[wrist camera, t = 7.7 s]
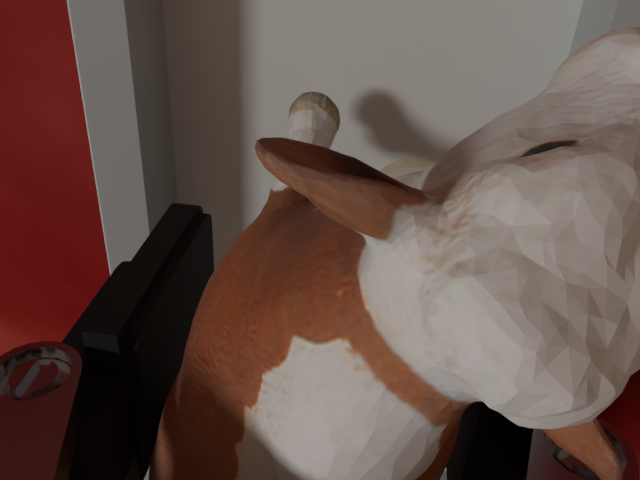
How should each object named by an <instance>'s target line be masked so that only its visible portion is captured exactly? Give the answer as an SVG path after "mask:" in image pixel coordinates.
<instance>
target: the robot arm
mask: <svg viewBox="0 0 640 480" xmlns="http://www.w3.org/2000/svg"><path fill="white" fill-rule="evenodd" d="M213 272H214V253H213V232H212V218H211V215H210V214H206V213H203V209H202V207H201V206H198V205H189V204H180V203H172V204H171V205H170V206H169V208H168V209H167V211H166V212H165V213H164V215H163V216H162V218H161V219H160V220H159V222H158V223H157V225H156V226H155V227H154V229H153V230H152V232H151V233H150V235H149V236H148V237H147V239H146V240H145V242H144V243H143V244H142V246H141V247H140V249H139V250H138V251H137V253H136V254H135V256H134V257H133V259H132V260H131V261H123V262H121V263H120V264H119V265H118V266H117V267H116V269H115V270H114V271H113V273H112V274H111V276H110V277H109V278H108V280H107V281H106V282H105V284H104V285H103V286H102V288H101V289H100V291H99V292H98V293H97V295H96V296H95V297H94V299H93V300H92V301H91V303H90V304H89V306H88V307H87V308H86V310H85V311H84V312H83V314H82V315H81V316H80V318H79V319H78V321H77V322H76V323H75V325H74V326H73V327H72V329H71V330H70V331H69V333H68V334H67V336H66V337H65V338H64V340H63V341H62V342H61V343H60V342H53V341H41V342H35V343H29V344H26V345H23V346H20V347H17V348H14V349H12V350H10V351H9V352H7V353H5V354H3V355H1V356H0V480H144V478H145V476H146V473H147V471H148V469H149V467H150V459H151V454H152V450H153V445H154V441H155V438H156V435H157V432H158V427H159V423H160V419H161V415H162V411H163V408H164V405H165V402H166V400H167V397H168V394H169V391H170V389H171V387H172V385H173V383H174V380H175V378H176V376H177V374H178V372H179V370H180V368H181V365H182V363H183V357H184V352H185V347H186V344H187V340H188V336H189V333H190V329H191V325H192V322H193V318H194V315H195V313H196V310H197V307H198V304H199V302H200V299H201V296H202V294H203V292H204V289H205V287H206V285H207V282H208V280H209V279H210V277H211V275H212V274H213ZM597 419H598V421H599V423H600V425H601V426H602V428H603V430H604V432H605V434H606V435H607V437H608V439H609V441H610V442H611V444H612V445H613V447H614V448H615V450H616V451H617V453H618V455H619V458H620V462H621V468H622V480H639V469H638V462H637V458H636V454H635V451H634V449H633V448H632V446H631V445H630V443H629V441H628V440H627V439H626V438H625V437H624V436H623V435H622V434H621V433H620V432H619V431H618V430H617V429H616V428H615V427H614V426H612V425H611V424H609V423H608V422H606V421H605V420H603V419H602V418H599V417H597ZM446 473H447V480H601V479H600V478H599V477H598V476H597V475H596V474H595V473H594V472H593V471H592V470H591V469H590V468H589V467H588V466H586V465H585V464H584V463H583V462H581V461H580V460H578V459H577V458H576V457H574V456H573V455H571V454H570V453H568V452H567V451H565V450H564V449H562V448H561V447H559V446H558V445H557V444H556V443H555V442H554V441H553V440H552V439H551V438H550V437H549V436H548V435H547V434H546V433H545V432H544V431H543V430H542V429H534V428H527V427H522V426H518V425H516V424H515V423H513V422H511V421H510V420H508V419H507V418H506V417H505V416H503V415H502V414H501V413H499V412H497V411H495V410H493V409H491V408H489V407H488V406H487V405H486V404H485V403H484V402H482V401H476V402H474V403H472V404H471V405H469V406H468V407H467V408H466V410H465V411H464V413H463V414H462V417H461V421H460V425H459V430H458V434H457V438H456V443H455V446H454V448H453V451H452V453H451V456H450V458H449V461H448V463H447V466H446Z"/></svg>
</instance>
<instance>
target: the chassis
mask: <svg viewBox="0 0 640 480" xmlns="http://www.w3.org/2000/svg"><path fill="white" fill-rule="evenodd" d="M67 5H68V11H69V18H70V24H71V30H72V37H73V43H74V49H75V56H76V62H77V68H78V75H79V81H80V87H81V94H82V100H83V106H84V113H85V119H86V125H87V131H88V138H89V144H90V150H91V157H92V163H93V169H94V176H95V182H96V188H97V195H98V201H99V207H100V214H101V220H102V226H103V233H104V239H105V245H106V252H107V258H108V264H109V271H110V276H111V274H112V273H113V271H114V270H115V269H116V267H117V266H118V265H119V264H120V263H121V262H123V261H131V260H132V259H133V257H134V256H135V254H136V253H137V251H138V250H139V249H140V247H141V246H142V244H143V243H144V242H145V240H146V239H147V237H148V236H149V235H150V233H151V232H152V230H153V229H154V227H155V226H156V225H157V223H158V222H159V220H160V219H161V218H162V216H163V215H164V213H165V212H166V211H167V209H168V208H169V206H170V205H171V204H172V203H180V204H189V205H198V206H201V207H202V209H203V213H206V214H210V215H211V218H212V232H213V253H214V270H215V269H216V267H217V265H218V264H219V262H220V261H221V259H222V258H223V256H224V255H225V253H226V252H227V250H228V249H229V247H230V246H231V244H232V243H233V241H234V240H235V239H236V238H237V237H238V236H239V235H240V234H241V233H242V232H243V231H244V230H245V229H246V228H247V227H248V226H249V225H250V224H251V223H253V222H254V220H255V219H256V218H257V217H258V216H259V214H260V213H261V211H262V209H263V207H264V206H265V204H266V202H267V200H268V197H269V192H270V188H271V185H272V182H273V180H274V178H275V176H274V175H273V174H271V173H270V172H269V171H268V170H267V169H265V167H264V166H263V164H262V163H261V161H260V160H259V158H258V156H257V154H256V151H255V147H254V145H255V143H256V141H257V140H259V139H261V138H271V137H283V138H288V139H289V110H290V107H291V105H292V103H293V101H294V100H295V99H296V98H298V97H299V96H300V95H301V94H303V93H306V92H311V91H313V92H319V93H322V94H324V95H327V96H328V97H329V98H330V99H331V100H332V101H333V102H334V103H335V105H336V106H337V108H338V110H339V114H340V125H339V129H338V131H337V133H336V135H335V138H334V140H333V143H332V145H331V147H330V149H331V150H334V151H336V152H339V153H342V154H345V155H348V156H351V157H355V158H356V159H358V160H360V161H362V162H364V163H365V164H367V165H369V166H371V167H373V168H375V169H377V170H378V171H379V170H381V169H382V168H383V167H385V166H387V165H388V164H390V163H392V162H394V161H397V160H400V159H403V158H409V157H421V158H425V159H428V160H430V161H432V162H434V163H436V162H437V161H438V160H439V159H440V158H441V157H442V156H443V155H444V154H445V153H446V152H447V151H449V150H450V149H451V148H453V147H454V146H455V145H457V144H458V143H459V142H461V141H462V140H463V139H465V138H466V137H468V136H469V135H471V134H472V133H474V132H475V131H477V130H478V129H480V128H482V127H483V126H485V125H486V124H488V123H489V122H491V121H492V120H494V119H495V118H497V117H499V116H500V115H502V114H504V113H506V112H508V111H510V110H512V109H515V108H517V107H519V106H521V105H523V104H524V103H526V102H528V101H530V100H531V99H533V98H535V97H537V96H538V95H540V94H541V93H542V92H543V91H544V90H545V89H546V87H547V85H548V83H549V82H550V80H551V78H552V77H553V75H554V73H555V72H556V70H557V68H558V67H559V66H560V65H561V64H562V63H563V62H564V61H565V60H566V59H567V57H568V56H570V55H571V54H572V53H573V52H575V51H576V50H578V49H579V48H581V47H582V46H584V45H585V44H587V43H589V42H591V41H593V40H594V39H596V38H598V37H600V36H602V35H604V34H607V33H609V32H612V31H615V30H618V29H622V28H628V27H640V0H67ZM149 468H150V467H149ZM144 480H149V469H148V471H147V473H146V476H145V478H144ZM440 480H447V473H446V468H445V470H444V472H443V474H442V476H441V478H440Z"/></svg>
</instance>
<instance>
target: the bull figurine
mask: <svg viewBox="0 0 640 480" xmlns="http://www.w3.org/2000/svg"><path fill="white" fill-rule="evenodd" d="M339 125H340V114H339V110H338V108H337V106H336V105H335V103H334V102H333V101H332V100H331V99H330V98H329V97H328V96H327V95H324V94H322V93H319V92H313V91H311V92H306V93H303V94H301V95H300V96H299V97H298V98H296V99H295V100H294V101H293V103H292V105H291V107H290V110H289V139H288V138H283V137H271V138H261V139H259V140H257V141H256V143H255V145H254V147H255V151H256V154H257V156H258V158H259V160H260V161H261V163H262V164H263V166H264V167H265V169H267V170H268V171H269V172H270V173H271V174H273V175H274V176H275V178H274V180H273V182H272V185H271V188H270V192H269V197H268V200H267V202H266V204H265V206H264V207H263V209H262V211H261V213H260V214H259V216H258V217H257V218H256V219H255V220H254V222H253V223H251V224H250V225H249V226H248V227H247V228H246V229H245V230H244V231H243V232H242V233H241V234H240V235H239V236H238V237H237V238H236V239H235V240H234V241H233V243H232V244H231V246H230V247H229V249H228V250H227V252H226V253H225V255H224V256H223V258H222V259H221V261H220V262H219V264H218V265H217V267H216V269H215V270H214V272H213V274H212V275H211V277H210V279H209V280H208V282H207V285H206V287H205V289H204V292H203V294H202V296H201V299H200V302H199V304H198V307H197V310H196V313H195V315H194V318H193V322H192V325H191V329H190V333H189V336H188V340H187V344H186V347H185V352H184V357H183V363H182V365H181V368H180V370H179V372H178V374H177V376H176V378H175V380H174V383H173V385H172V387H171V389H170V391H169V394H168V397H167V400H166V402H165V405H164V408H163V411H162V415H161V419H160V423H159V427H158V432H157V435H156V438H155V441H154V445H153V450H152V454H151V459H150V468H149V480H440V478H441V476H442V474H443V472H444V470H445V468H446V466H447V463H448V461H449V458H450V456H451V453H452V451H453V448H454V446H455V443H456V438H457V434H458V430H459V425H460V421H461V417H462V414H463V413H464V411H465V410H466V408H467V407H468V406H469V405H471V404H472V403H474V402H476V401H482V402H484V403H485V404H486V405H487V406H488V407H489V408H491V409H493V410H495V411H497V412H499V413H501V414H502V415H503V416H505V417H506V418H507V419H508V420H510V421H511V422H513V423H515V424H516V425H518V426H522V427H527V428H534V429H542V430H543V431H544V432H545V433H546V434H547V435H548V436H549V437H550V438H551V439H552V440H553V441H554V442H555V443H556V444H557V445H558V446H559V447H561V448H562V449H564V450H565V451H567V452H568V453H570V454H571V455H573V456H574V457H576V458H577V459H578V460H580V461H581V462H583V463H584V464H585V465H586V466H588V467H589V468H590V469H591V470H592V471H593V472H594V473H595V474H596V475H597V476H598V477H599V478H600V479H601V480H622V468H621V462H620V458H619V455H618V453H617V451H616V450H615V448H614V447H613V445H612V444H611V442H610V441H609V439H608V437H607V435H606V434H605V432H604V430H603V428H602V426H601V425H600V423H599V421H598V419H597V416H598V415H599V414H600V413H601V412H602V411H604V410H605V409H606V408H607V407H608V406H609V405H611V404H612V403H613V401H614V400H615V399H616V398H617V397H618V396H619V395H620V394H621V393H622V392H623V390H624V388H625V386H626V384H627V382H628V380H629V378H630V376H631V375H632V374H634V373H635V372H636V371H638V370H639V369H640V27H628V28H622V29H618V30H615V31H612V32H609V33H607V34H604V35H602V36H600V37H598V38H596V39H594V40H593V41H591V42H589V43H587V44H585V45H584V46H582V47H581V48H579V49H578V50H576V51H575V52H573V53H572V54H571V55H570V56H568V57H567V59H566V60H565V61H564V62H563V63H562V64H561V65H560V66H559V67H558V68H557V70H556V72H555V73H554V75H553V77H552V78H551V80H550V82H549V83H548V85H547V87H546V89H545V90H544V91H543V92H542V93H541V94H540V95H538V96H537V97H535V98H533V99H531V100H530V101H528V102H526V103H524V104H523V105H521V106H519V107H517V108H515V109H512V110H510V111H508V112H506V113H504V114H502V115H500V116H499V117H497V118H495V119H494V120H492V121H491V122H489V123H488V124H486V125H485V126H483V127H482V128H480V129H478V130H477V131H475V132H474V133H472V134H471V135H469V136H468V137H466V138H465V139H463V140H462V141H461V142H459V143H458V144H457V145H455V146H454V147H453V148H451V149H450V150H449V151H447V152H446V153H445V154H444V155H443V156H442V157H441V158H440V159H439V160H438V161H437V162H436V163H434V162H432V161H430V160H428V159H425V158H421V157H409V158H403V159H400V160H397V161H394V162H392V163H390V164H388V165H387V166H385V167H383V168H382V169H381V170H379V171H378V170H377V169H375V168H373V167H371V166H369V165H367V164H365V163H364V162H362V161H360V160H358V159H356V158H355V157H351V156H348V155H345V154H342V153H339V152H336V151H334V150H331V149H330V147H331V145H332V143H333V140H334V138H335V135H336V133H337V131H338V129H339Z"/></svg>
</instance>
